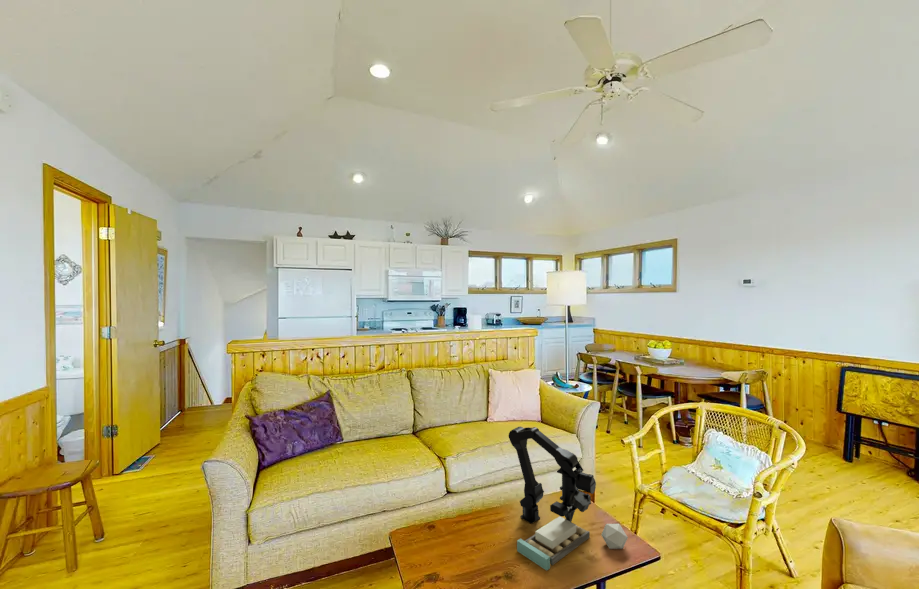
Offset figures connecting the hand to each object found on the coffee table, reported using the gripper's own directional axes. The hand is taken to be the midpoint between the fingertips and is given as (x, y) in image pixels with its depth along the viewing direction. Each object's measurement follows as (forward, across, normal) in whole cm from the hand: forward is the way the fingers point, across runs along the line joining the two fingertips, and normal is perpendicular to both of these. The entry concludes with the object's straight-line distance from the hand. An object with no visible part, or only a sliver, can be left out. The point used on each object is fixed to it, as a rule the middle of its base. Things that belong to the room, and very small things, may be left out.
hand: (569, 523), depth 158 cm
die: (+5, +7, -16) cm, 18 cm away
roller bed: (+4, -8, 0) cm, 9 cm away
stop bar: (+4, -24, 0) cm, 24 cm away
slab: (+1, -9, 0) cm, 9 cm away
